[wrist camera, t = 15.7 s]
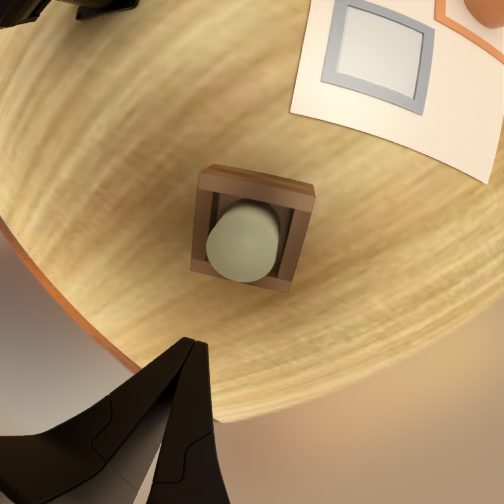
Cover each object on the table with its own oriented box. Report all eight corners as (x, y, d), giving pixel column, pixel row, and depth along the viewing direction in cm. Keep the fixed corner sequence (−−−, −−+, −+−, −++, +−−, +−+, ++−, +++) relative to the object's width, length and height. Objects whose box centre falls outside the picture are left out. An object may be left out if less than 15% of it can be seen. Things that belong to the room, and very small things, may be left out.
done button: (220, 244, 20) (203, 273, 17) (227, 192, 18) (209, 212, 15) (274, 256, 20) (268, 288, 17) (286, 204, 18) (283, 228, 15)
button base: (203, 250, 22) (190, 270, 19) (213, 164, 19) (199, 173, 16) (289, 270, 22) (288, 293, 19) (313, 184, 18) (315, 197, 16)
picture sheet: (290, 112, 16) (289, 112, 15) (329, -98, 6) (329, -103, 5) (494, 188, 15) (500, 192, 14) (509, -14, 5) (514, -16, 4)
